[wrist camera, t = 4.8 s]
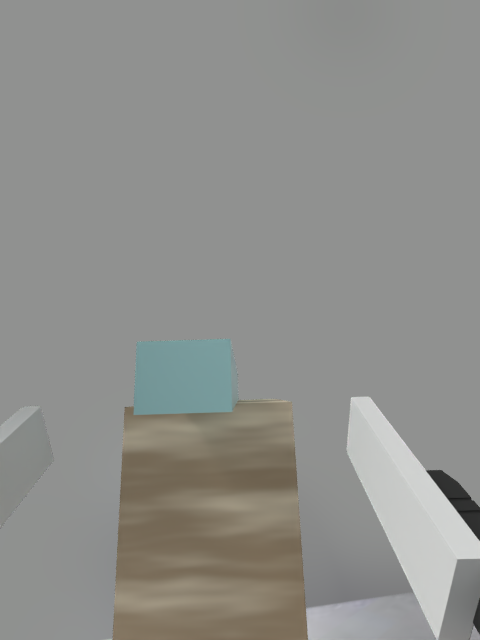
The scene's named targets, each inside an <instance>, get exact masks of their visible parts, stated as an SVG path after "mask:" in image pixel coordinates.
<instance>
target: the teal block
mask: <svg viewBox="0 0 480 640" xmlns="http://www.w3.org/2000/svg"><path fill="white" fill-rule="evenodd" d="M136 351H137V352H136V371H135V373H136V374H135V394H134V415H149V414H181V413H212V412H232V411H233V409H234V407H235V405H236V403H237V401H238V374H237V369H236V364H235V359H234V354H233V349H232V344H231V340H230V339H210V340H179V341H148V342H137V350H136Z"/></svg>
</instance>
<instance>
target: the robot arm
mask: <svg viewBox="0 0 480 640" xmlns="http://www.w3.org/2000/svg"><path fill="white" fill-rule="evenodd" d="M347 454H348V456H349V457H350V460H351V462H352V464H353V466H354V468H355V470H356V472H357V475H358V476H359V478H360V481H361V483H362V485H363V487H364V489H365V491H366V493H367V495H368V498H369V500H370V502H371V504H372V506H373V508H374V510H375V512H376V514H377V516H378V518H379V520H380V523H381V525H382V527H383V529H384V531H385V533H386V535H387V537H388V539H389V541H390V544H391V546H392V548H393V550H394V552H395V554H396V556H397V558H398V560H399V562H400V565H401V567H402V569H403V571H404V573H405V575H406V577H407V579H408V581H409V583H410V585H411V588H412V589H413V592H414V594H415V596H416V598H417V600H418V602H419V604H420V606H421V608H422V611H423V613H424V615H425V617H426V619H427V621H428V623H429V625H430V627H431V629H432V631H433V634H434V636H435V638H436V640H470V636H471V633H472V629H473V626H475V627H476V629H477V631H478V632H479V634H480V507H479V506H478V505H477V504H476V503H475V502H474V501H472V500H471V497H470V496H469V495H468V493H467V492H466V491H465V490H464V489H463V488H462V486H461V485H460V484H459V483H458V482H457V481H455V480H454V479H453V478H451V477H450V476H449V475H447V474H446V473H444V472H443V471H442V470H430V471H426V470H425V469H424V468H423V467H422V465H421V464H420V463H419V461H418V460H417V459H416V457H415V456H414V455H413V453H412V452H411V451H410V449H409V448H408V447H407V445H406V444H405V443H404V441H403V440H402V439H401V438H400V436H399V435H398V434H397V432H396V431H395V430H394V428H393V427H392V426H391V424H390V423H389V422H388V421H387V419H386V418H385V417H384V415H383V414H382V413H381V412H380V410H379V409H378V407H377V406H376V405H375V404H374V402H373V401H372V400H371V398H370V397H351V405H350V416H349V428H348V440H347ZM53 461H54V457H53V453H52V449H51V445H50V441H49V437H48V433H47V429H46V426H45V421H44V417H43V413H42V409H41V407H40V406H38V407H22V408H21V409H20V410H19V411H17V412H16V413H15V414H14V415H13V416H11V417H10V418H9V419H8V420H7V421H6V422H4V423H3V424H2V425H1V426H0V529H1V527H2V526H3V525H4V524H5V522H6V521H7V520H8V518H9V517H10V516H11V515H12V513H13V512H14V511H15V509H16V508H17V507H18V506H19V504H20V503H21V502H22V501H23V499H24V498H25V497H26V495H27V494H28V493H29V491H30V490H31V489H32V488H33V486H34V485H35V483H37V481H38V480H39V479H40V478H41V476H42V475H43V474H44V472H45V471H46V470H47V468H48V467H49V466H50V465H51V463H52V462H53Z"/></svg>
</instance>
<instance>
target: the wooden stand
mask: <svg viewBox="0 0 480 640" xmlns="http://www.w3.org/2000/svg"><path fill="white" fill-rule="evenodd" d="M123 433H124V434H123V453H122V472H121V490H120V509H119V528H118V547H117V567H116V586H115V587H116V588H115V605H114V625H113V640H308V635H307V620H306V607H305V592H304V591H305V590H304V577H303V561H302V547H301V531H300V516H299V502H298V487H297V471H296V457H295V441H294V427H293V413H292V402H289V401H283V400H278V399H256V400H238V401H237V403H236V405H235V407H234V409H233V411H232V412H212V413H181V414H149V415H134V406H132V407H125V414H124V432H123Z"/></svg>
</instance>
